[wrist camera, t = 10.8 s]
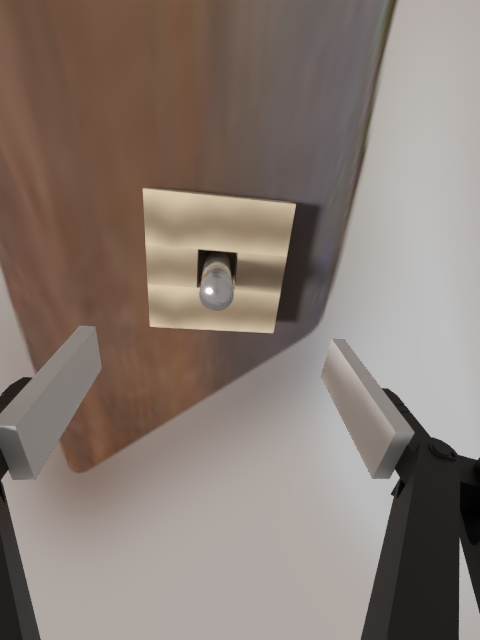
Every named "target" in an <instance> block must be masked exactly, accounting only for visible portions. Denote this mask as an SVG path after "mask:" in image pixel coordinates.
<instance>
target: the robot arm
mask: <svg viewBox="0 0 480 640" xmlns="http://www.w3.org/2000/svg"><path fill="white" fill-rule="evenodd" d="M101 369H102V367H101V361H100V354H99V348H98V341H97V335H96V328H95V326H79V327H78V328H77V330H76V331H75V332H74V333H73V334H72V335H71V336H70V337H69V338H68V339H67V341H66V342H65V343H64V344H63V345H62V346H61V347H60V348H59V349H58V351H57V352H56V353H55V354H54V355H53V356H52V357H51V358H50V359H49V360H48V362H47V363H46V364H45V365H44V366H43V367H42V368H41V369H40V370H39V371H38V373H37V374H36V375H35V376H34V377H33V378H28V377H23V378H21V379H20V380H18V381H16V382H15V383H13V384H11V385H10V386H9V387H8V388H7V389H6V390H5V391H4V392H3V393H2V394H1V396H0V640H41V639H40V635H39V631H38V627H37V623H36V619H35V615H34V610H33V606H32V602H31V598H30V594H29V590H28V586H27V582H26V578H25V573H24V569H23V565H22V561H21V557H20V553H19V549H18V545H17V541H16V537H15V533H14V528H13V524H12V520H11V516H10V512H9V508H8V504H7V500H6V496H5V491H4V487H3V484H2V482H1V479H2V478H3V476H4V475H5V473H6V472H7V471H8V470H9V473H10V475H11V477H12V479H13V480H35V479H36V477H37V476H38V474H39V472H40V471H41V469H42V467H43V466H44V464H45V462H46V460H47V459H48V457H49V456H50V454H51V452H52V450H53V449H54V447H55V446H56V444H57V442H58V441H59V439H60V437H61V436H62V434H63V432H64V431H65V429H66V427H67V426H68V424H69V422H70V421H71V419H72V417H73V416H74V414H75V412H76V410H77V409H78V407H79V405H80V404H81V402H82V400H83V399H84V397H85V395H86V394H87V392H88V390H89V389H90V387H91V385H92V384H93V382H94V380H95V379H96V377H97V375H98V374H99V372H100V370H101ZM321 378H322V380H323V381H324V383H325V385H326V388H327V389H328V391H329V393H330V395H331V397H332V399H333V401H334V403H335V405H336V407H337V409H338V411H339V413H340V415H341V417H342V419H343V421H344V423H345V425H346V427H347V429H348V431H349V433H350V435H351V437H352V439H353V441H354V443H355V445H356V447H357V449H358V451H359V453H360V455H361V457H362V459H363V461H364V463H365V465H366V467H367V469H368V471H369V473H370V475H371V477H372V478H373V479H378V478H379V479H383V478H384V479H389V478H390V477H391V475H392V473H393V471H394V469H395V470H396V472H397V473H398V475H399V476H400V479H399V481H398V482H397V484H396V486H395V488H394V489H393V491H392V493H391V495H393V496H394V499H393V503H392V508H391V512H390V516H389V520H388V525H387V529H386V534H385V537H384V542H383V546H382V550H381V555H380V559H379V563H378V568H377V572H376V576H375V580H374V585H373V589H372V593H371V598H370V602H369V607H368V611H367V615H366V620H365V624H364V628H363V632H362V636H361V640H459V538H460V540H461V544H462V547H463V552H464V555H465V559H466V563H467V567H468V570H469V574H470V578H471V582H472V586H473V589H474V593H475V597H476V601H477V604H478V608H479V612H480V458H479V459H478V460H475V459H471V458H467V457H464V456H460V455H457V453H456V452H455V450H454V449H452V448H451V447H450V446H449V445H448V444H446V443H444V442H443V441H441V440H438V439H436V438H431V437H430V436H429V434H428V433H427V432H426V431H425V429H424V428H423V427H422V426H421V424H420V423H419V422H418V421H417V419H416V418H415V417H414V416H413V415H412V413H410V411H409V410H408V408H407V407H406V406H404V403H403V402H402V401H401V400H400V398H399V397H398V396H397V395H396V394H394V393H393V392H391V391H390V390H389V389H384V388H381V387H380V386H379V384H378V383H377V382H376V380H375V379H374V378H373V377H372V375H371V374H370V373H369V371H368V370H367V369H366V367H365V366H364V365H363V363H362V362H361V361H360V359H359V358H358V357H357V356H356V354H355V353H354V351H353V350H352V349H351V347H350V346H349V345H348V343H347V342H346V341H345V340H344V339H332V340H331V344H330V347H329V351H328V354H327V357H326V361H325V364H324V368H323V371H322V375H321Z"/></svg>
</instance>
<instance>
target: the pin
mask: <svg viewBox="0 0 480 640" xmlns="http://www.w3.org/2000/svg"><path fill="white" fill-rule="evenodd" d="M199 297H200V301H201V303H202V304H203V305H204V306H205V307H206V308H208V309H210V310H213V311H221V310H224V309H226V308H227V307H229V306H230V304H231V303H232V301H233V298H234V292H233V284H232V276H231V269H230V261H229V258H228V256H227V255H226V254H225V253H224V252H222V251H211V252H210V253H208V254H207V256H206V258H205V261H204V267H203V274H202V280H201V286H200V292H199Z"/></svg>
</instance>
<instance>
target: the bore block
mask: <svg viewBox="0 0 480 640" xmlns="http://www.w3.org/2000/svg"><path fill="white" fill-rule="evenodd" d="M143 201H144V220H145V240H146V259H147V278H148V298H149V317H150V327H166V328H184V329H203V330H222V331H241V332H260V333H274V327H275V321H276V316H277V310H278V304H279V299H280V293H281V287H282V282H283V276H284V270H285V265H286V259H287V253H288V248H289V242H290V236H291V231H292V225H293V219H294V213H295V208H296V204H294V203H292V202H289V201H282V200H272V199H262V198H253V197H243V196H234V195H224V194H215V193H205V192H195V191H186V190H176V189H167V188H157V187H148V188H143ZM211 251H222V252H224V253H225V254H226V255H227V256H228V258H229V261H230V269H231V276H232V284H233V292H234V298H233V301H232V303H231V304H230V306H229V307H227V308H226V309H224V310H221V311H213V310H210V309H208V308H206V307H205V306H204V305H203V304H202V303H201V301H200V297H199V292H200V286H201V280H202V274H203V267H204V261H205V258H206V256H207V254H208V253H210V252H211Z"/></svg>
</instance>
